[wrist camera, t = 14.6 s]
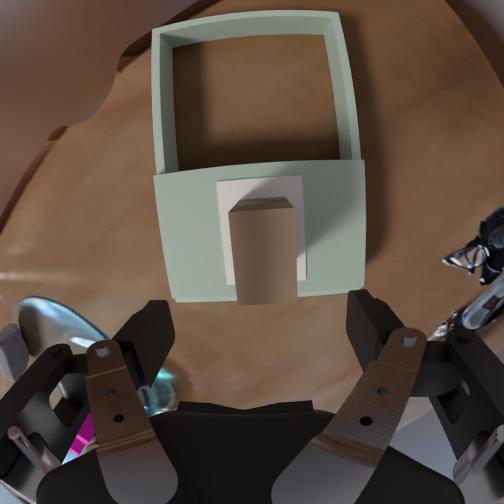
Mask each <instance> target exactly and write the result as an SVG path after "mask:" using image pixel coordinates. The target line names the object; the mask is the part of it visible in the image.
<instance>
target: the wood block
mask: <svg viewBox="0 0 504 504" xmlns="http://www.w3.org/2000/svg"><path fill="white" fill-rule="evenodd" d="M228 217H229V228H230V238H231V247H232V257H233V267H234V276H235V285H236V294H237V303H238V305H257V304H275V303H290V302H298V292H297V256H296V231H295V211H294V207H293V206H292V204H291V203H290V202H289V201H288V200H287V198H286V197H270V198H256V199H243V200H239V201H238V202H237V203H236V204H235V205H234V206H233V208H232V209H231V210H230V211H229V212H228Z"/></svg>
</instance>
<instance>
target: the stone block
mask: <svg viewBox="0 0 504 504" xmlns="http://www.w3.org/2000/svg"><path fill="white" fill-rule="evenodd" d="M28 361H29V350H28V348H27V345H26V343H25V341H24V340H23V338H22V335H21V333H20V331H19V329H18V327H17V325H16V324H11V323H10V324H8V325H7V326H6V327H4V328H3V329H2V331H1V332H0V369H1V371H2V373H3V375H4V376H5V377H6V378H7V379H9V380H11V381H13V382H16V381H17V380H18V379H19V378H20V377H21V375H22V374H23V372H24V371H25V370H26V367H27V364H28Z"/></svg>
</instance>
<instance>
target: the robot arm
mask: <svg viewBox="0 0 504 504" xmlns="http://www.w3.org/2000/svg"><path fill="white" fill-rule="evenodd" d="M346 331H347V335H348V338H349V340H350V342H351V345H352V347H353V349H354V351H355V354H356V356H357V358H358V361H359V363H360V365H361V368H362V370H363V372H364V373H363V374H362V376H361V378H360V379H359V381H358V382H357V384H356V385H355V387H354V388H353V390H352V392H351V393H350V395H349V396H348V397H347V399H346V400H345V402H344V403H343V405H342V406H341V408H340V409H339V410H338V412H337V413H336V414H334V413H331V412H327V411H322V410H315V409H313V404H312V400H308V401H297V402H282V403H275V404H271V405H266V406H262V407H257V408H252V409H246V410H241V409H235V408H231V407H226V406H221V405H217V404H212V403H199V402H185V401H180V402H179V405H178V408H177V410H172V411H167V412H163V413H159V414H157V415H154V416H152V417H150V418H149V417H148V414H147V412H146V410H145V408H144V406H143V403H142V401H141V399H140V397H139V394H138V392H137V391H138V389H139V388H144V389H150V388H151V386H152V384H153V382H154V380H155V378H156V377H157V375H158V373H159V371H160V369H161V367H162V365H163V363H164V361H165V359H166V357H167V355H168V353H169V351H170V349H171V347H172V345H173V343H174V340H175V330H174V326H173V321H172V317H171V313H170V308H169V304H168V302H167V301H166V300H150V301H149V302H148V303H147V304H146V305H145V307H144V308H143V309H142V310H140V311H138V312H137V313H135V314H134V315H132V316H131V317H130V318H129V320H128V321H127V322H126V323H125V324H124V325H123V327H122V328H121V329H120V330H119V331H118V332H117V333H116V335H115V336H114V337H113V338H112V339H106V340H100V341H98V342H95V343H93V344H92V345H91V346H89V348H88V349H87V351H86V354H75V355H73V353H72V351H71V348H70V346H69V345H67V344H56V345H53V346H51V347H49V348H48V349H46V350H45V351H44V352H43V353H42V354H41V355H40V356H39V357H38V359H37V360H36V361H35V362H34V363H33V364H32V365H31V366H30V367H29V368H28V369H27V370H26V371H25V372H24V374H23V375H22V376H21V377H20V378H19V379H18V380H17V381H16V382H15V384H14V385H13V386H12V387H11V388H10V389H9V390H8V392H7V393H6V394H5V395H4V396H3V397H2V399H1V400H0V486H1V487H2V488H3V489H4V490H5V491H6V492H8V493H9V494H10V495H12V496H14V497H15V498H16V499H17V500H18V501H20V502H21V503H22V504H504V364H503V363H502V362H501V361H500V360H499V359H498V357H497V356H496V355H495V354H494V353H493V352H492V351H491V349H490V348H489V347H488V346H487V345H486V344H485V343H484V342H483V341H482V340H481V339H480V337H479V336H478V335H477V334H476V333H474V332H473V331H471V330H468V329H465V328H455V329H452V330H450V331H449V332H448V333H447V336H445V337H442V338H440V339H438V340H437V341H427V337H426V335H425V334H424V333H423V332H421V331H420V330H418V329H415V328H409V327H405V326H404V324H403V323H402V322H401V321H400V319H399V318H398V317H397V316H396V315H395V313H394V312H393V311H392V310H391V308H390V307H389V306H388V305H387V304H386V303H385V302H383V301H381V300H380V299H378V298H376V299H374V298H373V297H372V296H371V295H370V293H369V292H368V291H367V290H366V289H359V290H350V291H349V292H348V301H347V316H346ZM56 386H57V387H58V388H59V390H60V392H61V394H62V395H63V397H62V398H61V400H60V401H59V402H58V404H57V405H56V407H55V408H54V410H53V409H52V408H51V406H50V403H49V397H50V394H51V393H52V391H53V390H54V389H55V387H56ZM409 397H429V399H430V401H431V403H432V406H433V408H434V410H435V412H436V414H437V416H438V418H439V420H440V422H441V424H442V427H443V429H444V431H445V433H446V435H447V438H448V440H449V442H450V445H451V447H452V449H453V452H454V454H455V457H456V459H457V462H456V463H455V465H454V468H453V481H452V480H451V479H449V478H447V477H445V476H444V475H442V474H440V473H438V472H436V471H434V470H432V469H430V468H428V467H426V466H424V465H422V464H421V463H419V462H417V461H415V460H413V459H412V458H410V457H408V456H406V455H405V454H403V453H401V452H399V451H398V450H396V449H394V448H393V447H391V446H389V444H390V441H391V439H392V437H393V435H394V433H395V431H396V429H397V426H398V424H399V422H400V419H401V417H402V415H403V412H404V410H405V407H406V405H407V402H408V400H409ZM90 411H91V416H92V421H93V426H94V430H95V434H96V438H97V442H98V447H97V448H95V449H93V450H91V451H89V452H87V453H85V454H83V455H81V456H79V457H77V458H75V459H73V460H71V461H69V462H67V463H65V464H63V465H61V464H62V463H63V461H64V459H65V457H66V455H67V453H68V451H69V449H70V447H71V445H72V443H73V442H74V440H75V438H76V436H77V434H78V432H79V430H80V429H81V427H82V425H83V423H84V421H85V420H86V418H87V416H88V414H89V413H90Z"/></svg>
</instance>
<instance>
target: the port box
mask: <svg viewBox="0 0 504 504" xmlns="http://www.w3.org/2000/svg"><path fill="white" fill-rule="evenodd" d="M273 34H315V35H324V38H325V43H326V49H327V54H328V60H329V66H330V72H331V79H332V86H333V93H334V101H335V109H336V118H337V128H338V139H339V151H340V160H308V161H285V162H268V163H254V164H242V165H231V166H221V167H212V168H204V169H196V170H188V171H181V172H179V169H178V158H177V145H176V131H175V115H174V95H173V57H172V48H175V47H179V46H184V45H189V44H194V43H200V42H205V41H212V40H218V39H226V38H234V37H243V36H255V35H273ZM152 113H153V132H154V147H155V160H156V171H157V175H154V185H155V194H156V203H157V211H158V218H159V226H160V233H161V239H162V246H163V252H164V258H165V264H166V269H167V275H168V280H169V285H170V291H171V296H172V298H175V299H176V302H210V301H236V300H237V294H236V285H235V276H234V267H233V257H232V247H231V238H230V228H229V217H228V212H229V211H230V210H231V209H232V208H233V206H234V205H235V204H236V203H237V202H238V201H239V200H243V199H256V198H270V197H286V198H287V200H288V201H289V202H290V203H291V204H292V206H293V207H294V211H295V231H296V256H297V292H298V297H303V296H316V295H328V294H339V293H348V292H349V291H350V290H359V289H361V287H364V272H365V250H366V188H365V166H364V160H361V153H360V140H359V129H358V120H357V111H356V103H355V96H354V89H353V82H352V76H351V70H350V64H349V59H348V54H347V49H346V44H345V39H344V35H343V30H342V26H341V22H340V18H339V14H338V12H327V11H310V10H269V11H252V12H240V13H231V14H223V15H216V16H210V17H204V18H198V19H193V20H188V21H183V22H179V23H175V24H171V25H167V26H163V27H159V28H155V29H152Z"/></svg>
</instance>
